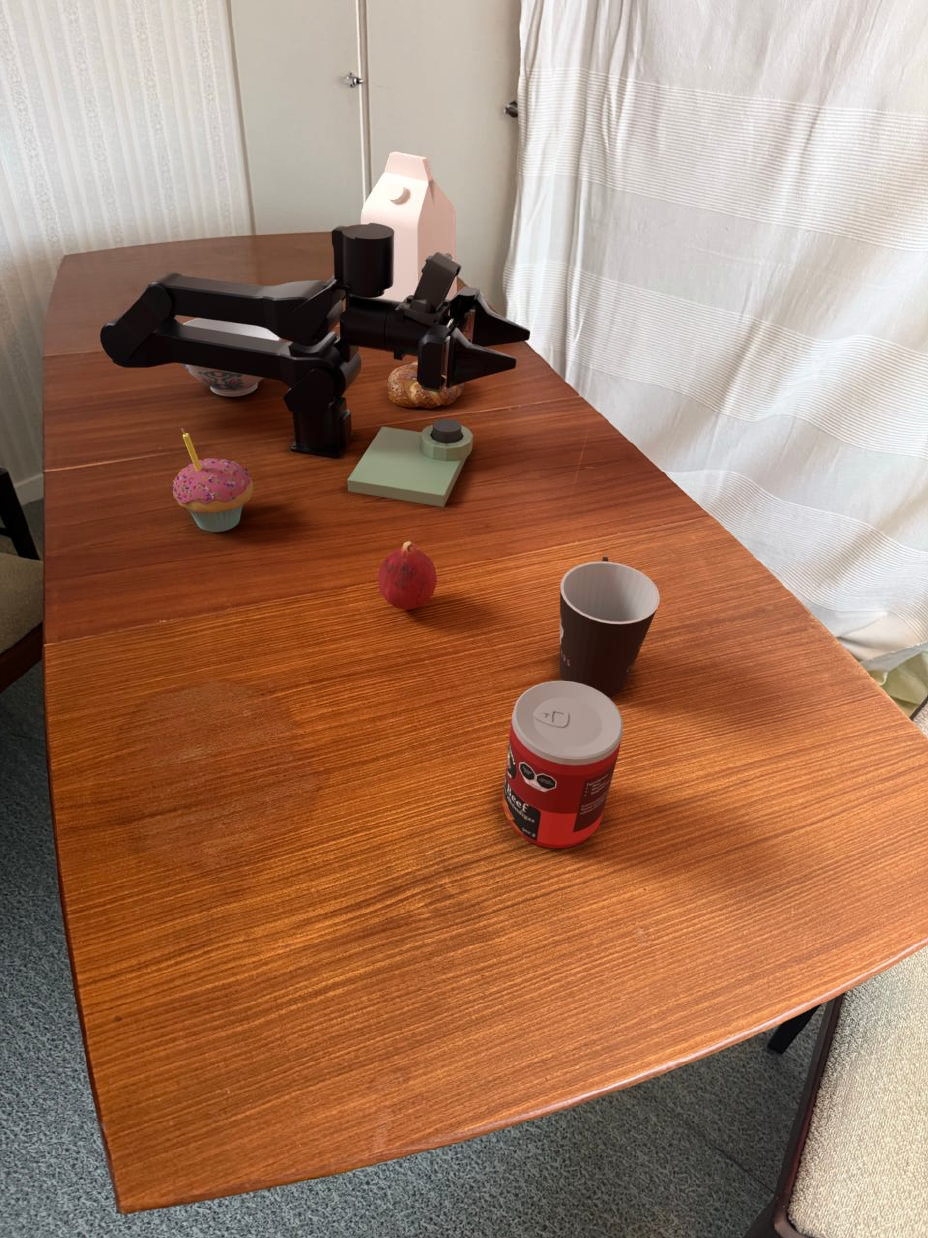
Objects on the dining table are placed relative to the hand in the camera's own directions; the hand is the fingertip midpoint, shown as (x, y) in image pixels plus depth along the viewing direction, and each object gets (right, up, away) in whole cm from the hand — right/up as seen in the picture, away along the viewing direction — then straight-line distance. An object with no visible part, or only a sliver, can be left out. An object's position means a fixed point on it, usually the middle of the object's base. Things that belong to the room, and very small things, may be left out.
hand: (523, 348), depth 95 cm
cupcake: (-35, -20, 0) cm, 40 cm away
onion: (-13, -30, -10) cm, 34 cm away
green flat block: (-13, -12, +10) cm, 21 cm away
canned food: (0, -46, -28) cm, 54 cm away
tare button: (-9, -8, +11) cm, 16 cm away
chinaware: (-40, +3, +26) cm, 48 cm away
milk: (-16, +18, +45) cm, 51 cm away
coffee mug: (+6, -35, -15) cm, 39 cm away
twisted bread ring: (-13, +2, +27) cm, 29 cm away
